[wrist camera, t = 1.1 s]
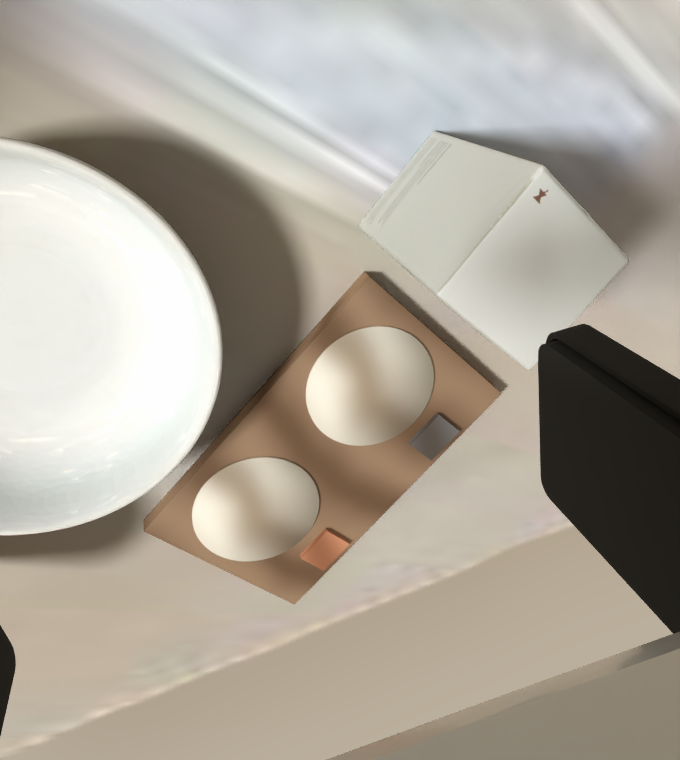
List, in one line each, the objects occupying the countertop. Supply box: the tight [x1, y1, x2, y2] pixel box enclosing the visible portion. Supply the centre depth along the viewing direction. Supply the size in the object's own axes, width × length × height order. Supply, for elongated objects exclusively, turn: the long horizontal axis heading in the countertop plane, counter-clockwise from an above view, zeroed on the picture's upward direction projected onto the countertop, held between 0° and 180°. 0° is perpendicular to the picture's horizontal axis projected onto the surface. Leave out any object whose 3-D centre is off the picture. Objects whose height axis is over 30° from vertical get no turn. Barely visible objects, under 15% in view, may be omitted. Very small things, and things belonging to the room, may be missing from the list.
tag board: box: [144, 272, 501, 604], centre depth 46 cm, size 23×14×2 cm, turn 137°
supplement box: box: [359, 131, 629, 370], centre depth 35 cm, size 7×7×13 cm
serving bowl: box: [0, 137, 223, 535], centre depth 34 cm, size 21×21×7 cm
